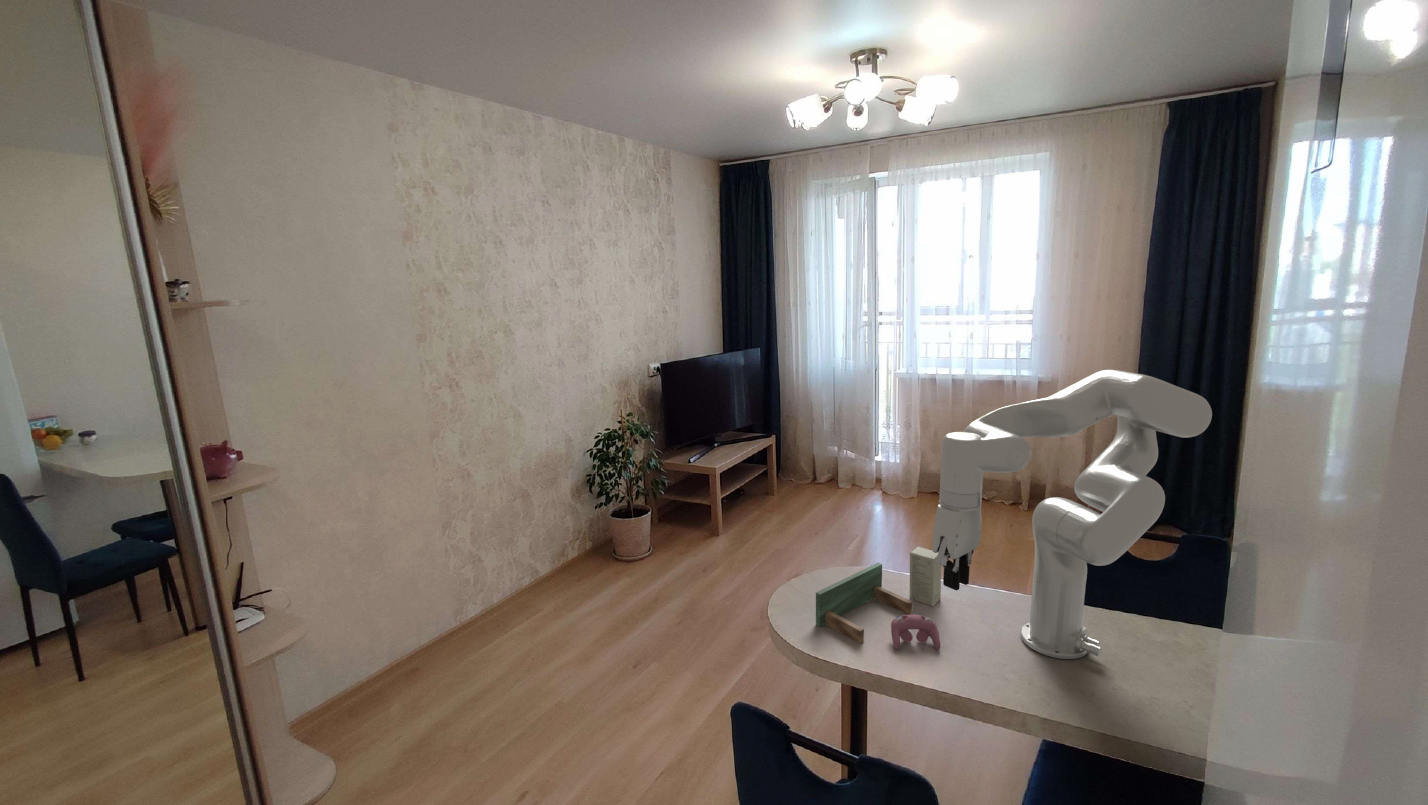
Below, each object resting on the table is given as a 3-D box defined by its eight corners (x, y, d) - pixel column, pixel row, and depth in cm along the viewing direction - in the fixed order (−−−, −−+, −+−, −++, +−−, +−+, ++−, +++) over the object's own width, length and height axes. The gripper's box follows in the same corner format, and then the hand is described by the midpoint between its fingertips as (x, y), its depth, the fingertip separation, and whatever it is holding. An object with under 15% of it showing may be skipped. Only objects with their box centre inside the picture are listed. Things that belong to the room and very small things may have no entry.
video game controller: (937, 648, 134) (934, 614, 136) (942, 651, 130) (940, 616, 132) (890, 647, 135) (888, 613, 137) (894, 650, 131) (892, 615, 133)
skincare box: (941, 599, 151) (943, 552, 148) (932, 607, 148) (934, 559, 145) (916, 591, 155) (918, 545, 153) (907, 597, 152) (909, 551, 150)
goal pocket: (916, 610, 146) (917, 579, 145) (854, 646, 133) (855, 612, 132) (877, 592, 155) (878, 562, 153) (815, 624, 142) (815, 592, 140)
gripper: (965, 482, 128) (961, 565, 131) (918, 502, 118) (914, 591, 122) (1001, 491, 122) (995, 578, 126) (954, 513, 112) (949, 606, 116)
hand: (955, 584), depth 124 cm, fingers open, 2 cm apart
